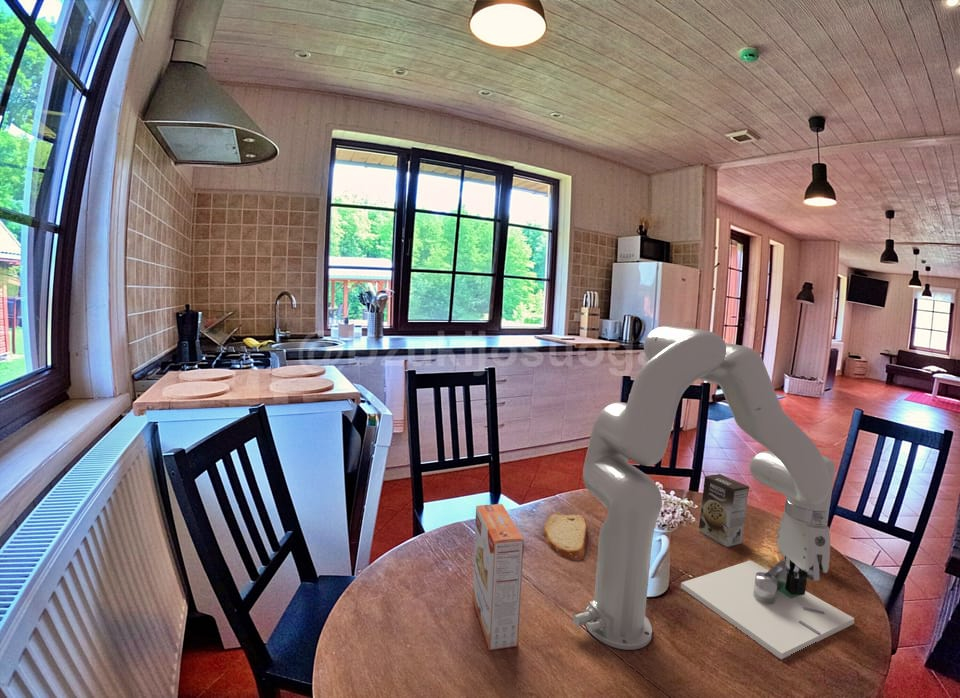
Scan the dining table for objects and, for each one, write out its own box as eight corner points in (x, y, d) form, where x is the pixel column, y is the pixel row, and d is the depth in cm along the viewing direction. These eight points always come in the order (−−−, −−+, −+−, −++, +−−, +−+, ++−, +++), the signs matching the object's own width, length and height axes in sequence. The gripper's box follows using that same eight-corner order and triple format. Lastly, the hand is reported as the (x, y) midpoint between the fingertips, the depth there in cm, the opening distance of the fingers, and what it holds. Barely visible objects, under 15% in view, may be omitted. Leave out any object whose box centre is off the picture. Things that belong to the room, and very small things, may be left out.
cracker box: (470, 600, 95) (475, 504, 92) (498, 597, 96) (503, 502, 94) (486, 652, 81) (492, 540, 79) (519, 648, 83) (526, 538, 80)
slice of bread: (572, 565, 110) (573, 550, 110) (521, 532, 124) (522, 519, 124) (618, 543, 121) (619, 529, 120) (566, 515, 135) (567, 503, 135)
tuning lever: (770, 606, 95) (773, 586, 94) (750, 595, 98) (752, 576, 98) (792, 585, 103) (795, 566, 102) (773, 576, 106) (775, 557, 105)
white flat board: (781, 659, 83) (782, 652, 83) (680, 587, 102) (681, 581, 102) (853, 623, 93) (854, 617, 93) (749, 564, 113) (750, 559, 113)
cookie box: (697, 531, 129) (703, 475, 127) (713, 527, 131) (719, 472, 129) (726, 547, 120) (733, 488, 119) (743, 543, 123) (750, 485, 121)
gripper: (851, 530, 90) (838, 617, 92) (799, 497, 105) (789, 572, 107) (813, 528, 90) (801, 615, 92) (766, 495, 105) (756, 570, 107)
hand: (794, 592), depth 100 cm, fingers closed
